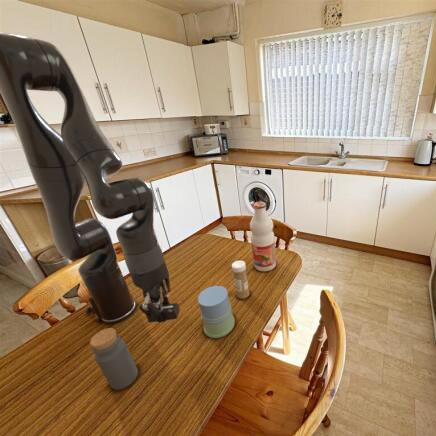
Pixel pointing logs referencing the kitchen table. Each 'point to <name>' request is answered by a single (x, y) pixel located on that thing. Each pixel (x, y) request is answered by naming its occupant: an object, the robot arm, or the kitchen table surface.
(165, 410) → the kitchen table surface
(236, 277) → the sprinkles bottle
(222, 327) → the stacked cups
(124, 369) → the bottle
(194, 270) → the kitchen table surface
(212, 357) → the kitchen table surface
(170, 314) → the clip
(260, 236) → the fruit juice
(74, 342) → the kitchen table surface
